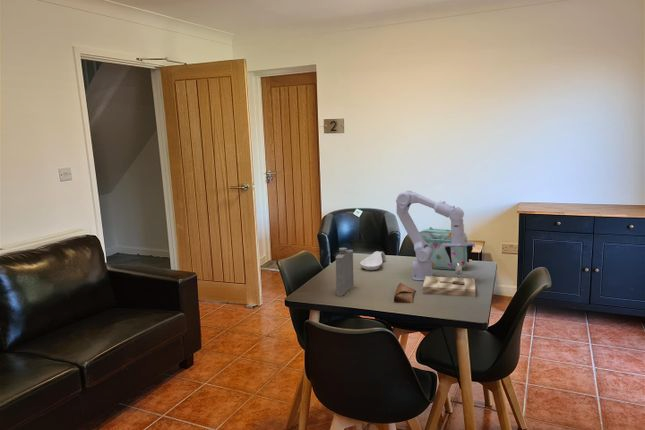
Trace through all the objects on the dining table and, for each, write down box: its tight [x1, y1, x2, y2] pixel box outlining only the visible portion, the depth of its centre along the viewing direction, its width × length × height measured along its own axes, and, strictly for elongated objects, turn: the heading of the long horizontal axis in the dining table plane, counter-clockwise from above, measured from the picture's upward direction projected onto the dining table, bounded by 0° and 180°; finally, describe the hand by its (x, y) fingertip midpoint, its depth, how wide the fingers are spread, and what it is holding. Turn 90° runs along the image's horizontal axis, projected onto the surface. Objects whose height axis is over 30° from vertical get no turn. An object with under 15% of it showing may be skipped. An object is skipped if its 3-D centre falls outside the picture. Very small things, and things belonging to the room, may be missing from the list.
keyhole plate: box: [422, 276, 476, 298], centre depth 205 cm, size 22×16×3 cm
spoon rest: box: [359, 250, 387, 271], centre depth 248 cm, size 24×12×7 cm, turn 154°
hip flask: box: [335, 247, 355, 297], centre depth 207 cm, size 16×4×20 cm, turn 156°
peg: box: [454, 262, 463, 278], centre depth 215 cm, size 4×4×9 cm
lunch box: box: [419, 226, 468, 271], centre depth 240 cm, size 27×10×21 cm, turn 67°
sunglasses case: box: [393, 282, 417, 304], centre depth 198 cm, size 18×7×7 cm, turn 166°
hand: (459, 262), depth 214 cm, fingers open, 7 cm apart
